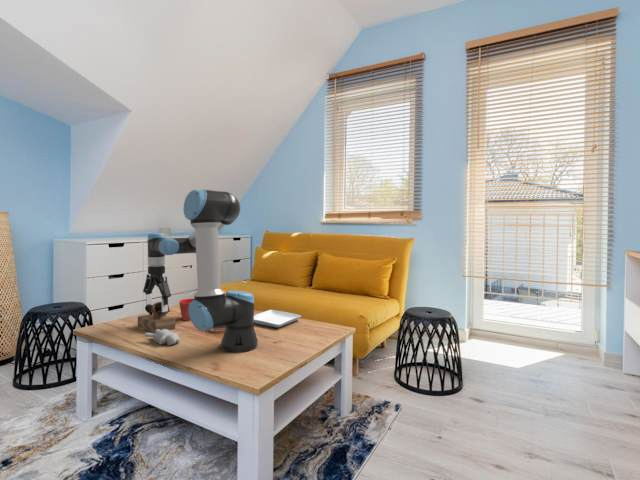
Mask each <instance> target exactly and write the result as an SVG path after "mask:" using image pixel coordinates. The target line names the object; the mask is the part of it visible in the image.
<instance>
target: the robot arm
mask: <svg viewBox="0 0 640 480" xmlns="http://www.w3.org/2000/svg"><path fill="white" fill-rule="evenodd" d="M240 212H241V204H240V201H239V199H238V198H237V196H235V195H234V194H232V193H231V192H229V191H221V190H220V191H219V190H209V189H193V190H190V191H189V193H188V194H187V195H186V197H185V198H184V202H183V214H184V217H185V219H187V220H188V221H190V226H191V227H192V228H194V231H193V232H192V233H191V234H190V235H189V236H188V237H167V238H166V236H165V234H164V233H163V232H162V233H161V232H157V233H155V232H154V233H153V232H152V233H148V234H147V239H146V240H147V265H148V266H147V274H146V279H145V282H144V285H143V286H144V287H143V290H142V293H144V294H145V306H146V305H148V304H150V305H153V290H154V288H155V286H156V287H158V288H157V289H159V292H160V294H161V302H162V312H166V311H168V306H169V298H170V297H172V294H171V290H170V285H169V282H168V277H167V276H164V274H165V273H166V266H165V264H166V261H165V260H166V256H173V255H181V254H182V255H183V254H195V255H196V257H195V258H196V259H195V260H196V277H197V278H196V279H197V291H196V292H195V294H194V295H193V299H194V300H193V301H192V302H190V304H189V308H188V311H189V317H190V320H191V321H190V322H191V324H192V325H193V326H194V328H196V329H197V330H200V331H204V330H212V329H215V328H220V327H223V326H224V327H225V329H224V333H223V335H222V339H221V341H220V348H221V349H222V350H223V351H226V352H230V353H243V352H248V351H252V350H254V349H257V347H258V346H259V344H258V338H257V334H256V330H255V326H254V324H255V323H254V315H255V297H254V294H253V293H251V292H248V291H243V290H227V291H224V290H223V289H222V288H221V286H222V285H221V269H220V268H221V267H220V265H221V264H220V250H219V248H220V247H219V232H220V231H221V230H222V229H224V228H225V226H230V225H231V224H233V223H234V222H235V221H236V220H237V218H238V217H239V215H240Z"/></svg>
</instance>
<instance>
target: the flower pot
mask: <svg viewBox="0 0 640 480" xmlns="http://www.w3.org/2000/svg"><path fill="white" fill-rule="evenodd" d="M193 300H194V298H185V299H181V300H179V309H180V315H181V319H182V320H183V321H187V322H189V321H190V322H191V320H190V317H189V311H188V308H189V304H190V302H192V301H193Z"/></svg>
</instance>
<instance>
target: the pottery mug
mask: <svg viewBox="0 0 640 480" xmlns="http://www.w3.org/2000/svg"><path fill="white" fill-rule="evenodd" d="M144 309H145V312H146V313H148V315H149V314H150V315H152V314H153V315H154V316H153V319H155V320H156V319H157V317H158V318H159V317H162V316H165V315H166V316H167V315H168V313H169V312H171V310H170V307H169V305H168V311H166V312H162V301H158V302H155V303H152V305H150V304H148V305H146V304H145V307H144Z"/></svg>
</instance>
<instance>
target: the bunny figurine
mask: <svg viewBox="0 0 640 480" xmlns="http://www.w3.org/2000/svg"><path fill="white" fill-rule="evenodd" d="M155 332H156V333H153V332H145V333H144V337H146V338H153V339H154V342H155V343H157V344H159V345H164V344H165V345H167V346H172V345H175V344H178V343H180V342H181V338H180V336H179V333H178V332H172V331H171V330H167V329H163V330H159V329H156V330H155Z"/></svg>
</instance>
